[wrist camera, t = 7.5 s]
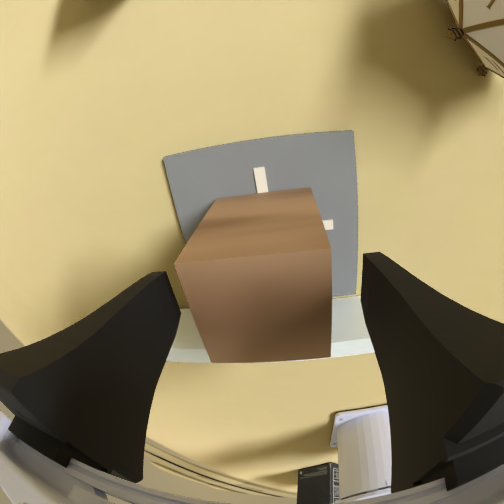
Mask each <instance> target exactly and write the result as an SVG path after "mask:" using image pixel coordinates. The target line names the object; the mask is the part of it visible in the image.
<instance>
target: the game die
mask: <svg viewBox="0 0 504 504" xmlns="http://www.w3.org/2000/svg"><path fill="white" fill-rule="evenodd" d="M446 2H447V5H448V7H449V9H450V11H451V13H452V15H453V18H454V20H455V22H456V25H457V27H458V29H456V28H452V29H448V33H447V35H446V37H449V38H451V39H454V41H456V39H460V37H461V36H463V38H464V39H465V40H466V42H467V43H468V44H469V46H470V47H471V48H472V50H473V51H474V53H475V54H476V56H477V57H478V58H479V60H480V61H481V63H482V66H480V67H479V68H478V69H477V70H478V76H485V74H487V69H488V70H490V71H492V72H494V73H496V74H497V75H499V76H501V77H503V78H504V0H446Z"/></svg>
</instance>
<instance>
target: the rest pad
mask: <svg viewBox="0 0 504 504" xmlns="http://www.w3.org/2000/svg"><path fill="white" fill-rule="evenodd" d="M163 160H164V164H165V168H166V172H167V177H168V181H169V185H170V189H171V192H172V196H173V200H174V204H175V208H176V211H177V215H178V219H179V222H180V226H181V230H182V233H183V237H184V240H185V244H187V242H188V241H189V239H190V237H191V236H192V234H193V233H194V231H195V230H196V228H197V227H198V225H199V224H200V222H201V221H202V219H203V218H204V216H205V215H206V213H207V212H208V210H209V209H210V207H211V206H212V204H213V203H214V202H215V200H216V199H219V198H226V197H233V196H240V195H248V194H255V193H263V192H272V191H280V190H289V189H298V188H308V187H311V190H312V192H313V195H314V198H315V201H316V204H317V207H318V209H319V212H320V215H321V218H322V221H323V224H324V227H325V230H326V233H327V236H328V240H329V243H330V246H331V254H332V297H334V296H343V295H352V294H356V283H357V260H358V196H357V173H356V157H355V144H354V133H353V131H352V130H349V131H330V132H316V133H304V134H294V135H285V136H276V137H268V138H261V139H254V140H247V141H241V142H235V143H229V144H223V145H217V146H212V147H207V148H202V149H197V150H192V151H187V152H183V153H178V154H174V155H170V156H166V157H163Z"/></svg>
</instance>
